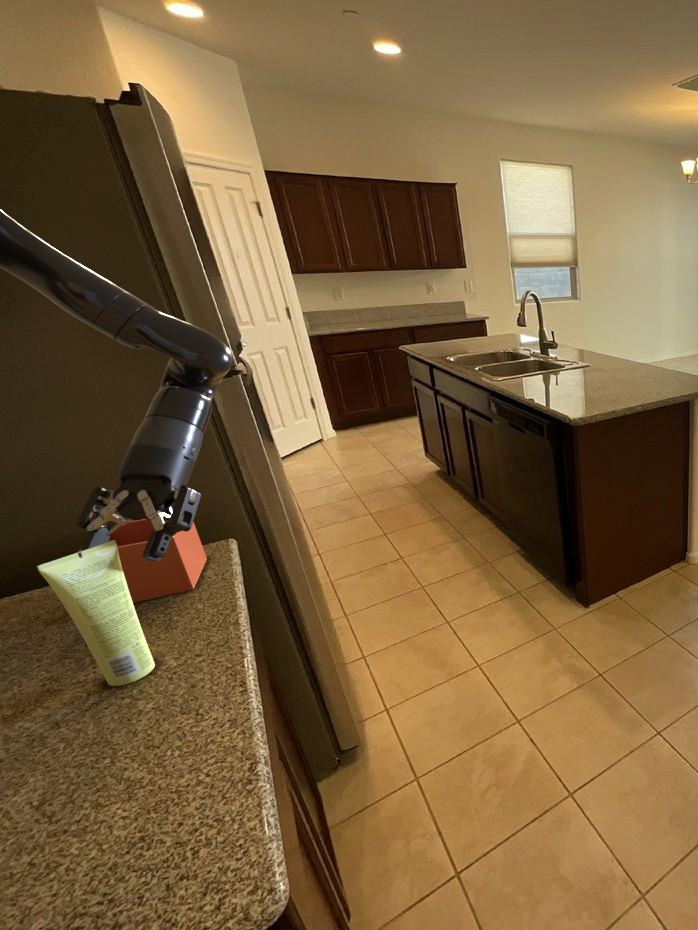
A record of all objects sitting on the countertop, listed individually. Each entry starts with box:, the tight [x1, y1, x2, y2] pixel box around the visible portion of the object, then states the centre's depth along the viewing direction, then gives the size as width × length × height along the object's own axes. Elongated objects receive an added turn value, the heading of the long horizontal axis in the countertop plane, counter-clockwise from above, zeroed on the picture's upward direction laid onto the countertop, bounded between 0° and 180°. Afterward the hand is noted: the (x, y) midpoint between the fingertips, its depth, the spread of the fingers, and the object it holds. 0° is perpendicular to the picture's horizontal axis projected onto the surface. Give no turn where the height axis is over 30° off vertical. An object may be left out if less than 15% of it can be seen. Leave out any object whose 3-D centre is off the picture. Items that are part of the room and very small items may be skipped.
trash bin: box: [78, 514, 208, 604], centre depth 92 cm, size 12×12×11 cm
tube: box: [36, 540, 156, 687], centre depth 69 cm, size 6×5×20 cm
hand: (120, 560), depth 71 cm, fingers open, 8 cm apart
